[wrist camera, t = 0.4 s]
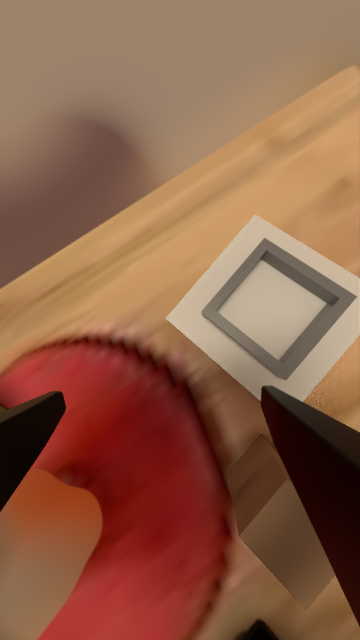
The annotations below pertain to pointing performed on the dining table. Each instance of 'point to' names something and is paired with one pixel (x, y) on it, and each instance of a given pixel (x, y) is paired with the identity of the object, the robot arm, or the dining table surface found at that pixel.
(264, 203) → the dining table surface
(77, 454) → the dining table surface
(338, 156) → the dining table surface
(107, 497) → the dining table surface
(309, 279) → the socket base
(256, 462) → the walnut peg
